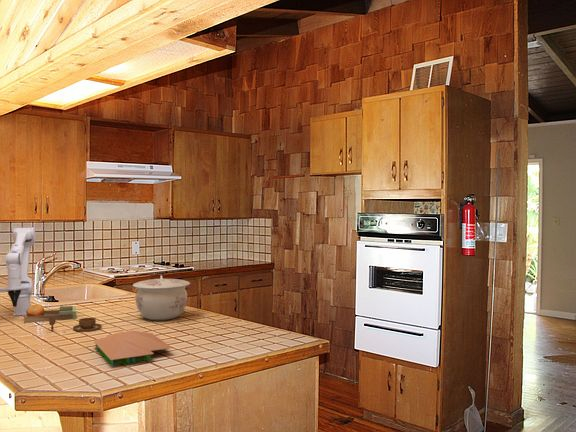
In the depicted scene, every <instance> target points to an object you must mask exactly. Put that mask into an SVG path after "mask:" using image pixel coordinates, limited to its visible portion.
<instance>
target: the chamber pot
mask: <svg viewBox="0 0 576 432" xmlns="http://www.w3.org/2000/svg"><path fill="white" fill-rule="evenodd" d="M190 285H191V282H190V281H188V280H184V279H178V278H163V275H160V278H152V279H146V280H141V281H138V282H134V283H133V284H132V287H133V288H135V289H137V291H136V294H135V304H136V308H137V310H138V311H139V313H140V315H141V316H142V317H143V318H144V319H146V320H149V321H158V322H159V321H170V320H174V319H176V318H178V317H179V316H181V314H182V313H183V312H184V310H185V308H186V306H187V301H188V292H187V290H186V287H188V286H190Z"/></svg>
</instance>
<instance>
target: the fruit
mask: <svg viewBox="0 0 576 432" xmlns="http://www.w3.org/2000/svg"><path fill="white" fill-rule="evenodd" d="M45 311H46V310H45V308H44V306H43V305H42V304H40V303H38V304H37V303H36V304H32V305H30V307H29V308H28V309H27V311H26V313H27V316H28V317H29V316H43V315H44V312H45Z"/></svg>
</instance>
